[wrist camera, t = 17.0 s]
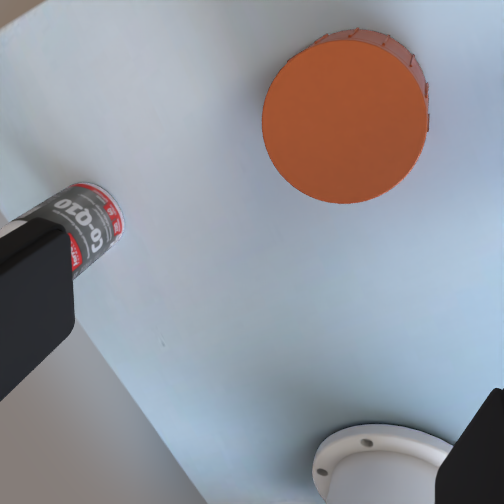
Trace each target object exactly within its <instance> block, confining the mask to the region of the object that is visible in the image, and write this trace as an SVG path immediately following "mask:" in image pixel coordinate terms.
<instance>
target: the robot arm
mask: <svg viewBox="0 0 504 504" xmlns="http://www.w3.org/2000/svg"><path fill="white" fill-rule="evenodd" d="M74 323H75V314H74V295H73V276H72V257H71V239H70V236H69V234H67V233H66V229H65V228H64V226H63V225H61V224H58V223H56V222H53V221H50V220H47V219H44V218H41V217H36V218H33V219H31V220H30V221H28V222H26V223H25V224H23V225H21V226H20V227H18V228H16V229H15V230H13V231H11V232H9V233H8V234H6V235H4V236H3V237H1V238H0V401H1V400H3V399H4V397H6V396H7V395H8V394H9V393H10V392H11V391H12V390H13V389H14V388H15V387H16V386H17V385H18V384H19V383H20V382H21V381H22V380H23V379H24V378H25V377H26V376H27V375H28V374H29V373H30V372H31V371H32V370H34V368H36V366H38V365H39V364H40V363H41V362H42V361H43V360H44V359H45V358H46V357H47V356H48V355H49V354H50V353H51V352H52V351H53V350H54V349H55V348H56V347H57V346H58V345H59V344H60V343H61V342H62V341H63V340H65V339H66V338H67V337H68V335H69V334H70V333H71V331H72V329H73V327H74ZM312 476H313V480H314V484H315V486H316V488H317V490H318V492H319V494H320V496H321V497H322V498H323V499H324V501H325V502H326V504H504V389H503V390H501V389H499V388H495V389H493V390H492V391H491V393H490V394H489V396H488V397H487V399H486V400H485V401H484V403H483V404H482V406H481V407H480V409H479V410H478V412H477V413H476V415H475V416H474V417H473V419H472V420H471V422H470V423H469V425H468V426H467V428H466V429H465V431H464V432H463V433H462V435H461V436H460V438H459V439H458V441H457V442H456V444H455V445H454V446H452V445H450V444H448V443H447V442H445V441H443V440H441V439H439V438H437V437H434V436H432V435H429V434H427V433H424V432H422V431H418V430H414V429H410V428H406V427H402V426H394V425H387V424H366V425H359V426H352V427H349V428H346V429H343V430H339V431H337V432H336V433H334V434H332V435H330V436H329V437H327V438H326V439H325V440H324V441H323V442H322V443H321V444H320V446H319V448H318V450H317V451H316V454H315V458H314V462H313V467H312Z"/></svg>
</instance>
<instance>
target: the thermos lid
mask: <svg viewBox="0 0 504 504" xmlns="http://www.w3.org/2000/svg"><path fill="white" fill-rule="evenodd" d="M428 85H429V84H428V82H427V83H426V80H425V77H424V75H423V72H422V70H421V68H420V66H419V64H418V63H417V61H416V59H415V55H414V54H413V55H412V54H411V53H410V52H409V51H408V50H407V49H406V48H405V47H404V46H403V45H401V44H400V43H399V42H397V41H396V40H394V39H392V38H390V35H388V36H386V35H384V34H381V33H378V32H375V31H369V30H361V29H359V28H356V29H352V30H344V31H340V32H336V33H333V34H330V35H328V34H326V35H324V36H323V37H321V38H320V39H318V40H317V41H315V42H314V43H313V44H312V45H310V46H309V47H307V48H306V49H304V50H303V51H301V52H299V53H298V54H297V55H295V56H294V57H292V58H291V59H289V60H288V61H287V64H286V65H285V66H284V67H283V68H282V69H281V70H280V71H279V73H278V74H277V75H276V77H275V78H274V80H273V82H272V84H271V85H270V87H269V90H268V92H267V95H266V97H265V102H264V106H263V112H262V132H263V139H264V143H265V146H266V149H267V152H268V154H269V157H270V159H271V161H272V162H273V164H274V166H275V167H276V169H277V170H278V171H279V173H280V174H281V175H282V176H283V177H284V178H285V180H286V181H287V182H289V183H290V184H291V185H292V186H293V187H295V188H296V189H298V190H299V191H301V192H302V193H304V194H306V195H308V196H310V197H312V198H315V199H318V200H321V201H325V202H330V203H338V204H350V203H358V202H363V201H367V200H370V199H373V198H375V197H378V196H380V195H382V194H384V193H386V192H388V191H389V190H391V189H392V188H393V187H395V186H396V185H397V184H398V183H400V182H401V181H402V180H403V179H404V178H405V177H406V176H407V174H408V173H409V172H410V171H411V170H412V168H413V167H414V165H415V164H416V162H417V160H418V158H419V156H420V154H421V152H422V149H423V146H424V143H425V139H426V133H427V132H428V131H429V114H428V101H429V98H428Z"/></svg>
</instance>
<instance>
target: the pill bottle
mask: <svg viewBox="0 0 504 504" xmlns="http://www.w3.org/2000/svg"><path fill="white" fill-rule="evenodd" d="M36 217H41V218H44V219H47V220H50V221H53V222H56V223H58V224H61V225H63V226H64V228H65V229H66V233H67V234H69V236H70V239H71V257H72V276H73V280H74V279H75V278H76V277H77V276H78V275H80V274H81V273H82V272H83V271H84V270H86V269H87V268H88V267H89V266H90V265H91V264H92V263H94V262H95V261H96V260H97V259H98V258H99V257H101V256H102V255H103V254H104V253H105V252H106V251H108V250H109V249H110V248H111V247H112V246H113V245H115V244H116V243H117V242H118V241H119V240H120V238H121V237H122V234H123V232H124V218H123V214H122V212H121V209H120V207H119V206H118V204H117V202H116V201H115V200H114V198H113V197H112V196H111V195H110V194H109V193H108V192H107V191H105V190H104V189H102V188H100V187H99V186H96V185H94V184H91V183H77V184H73V185H71V186H69V187H67V188H66V189H64V190H62V191H61V192H59V193H57V194H56V195H54V196H52V197H50V198H49V199H47V200H46V201H44V202H42V203H41V204H39V205H37V206H35V207H34V208H32V209H31V210H29V211H27V212H26V213H24V214H22V215H21V216H19V217H17V218H16V219H14V220H12V221H11V222H9V223H8V224H6V225H5V226H4V227H3V228H1V230H0V238H1V237H3V236H4V235H6V234H8V233H9V232H11V231H13V230H15V229H16V228H18V227H20V226H21V225H23V224H25V223H26V222H28V221H30V220H31V219H33V218H36Z"/></svg>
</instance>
